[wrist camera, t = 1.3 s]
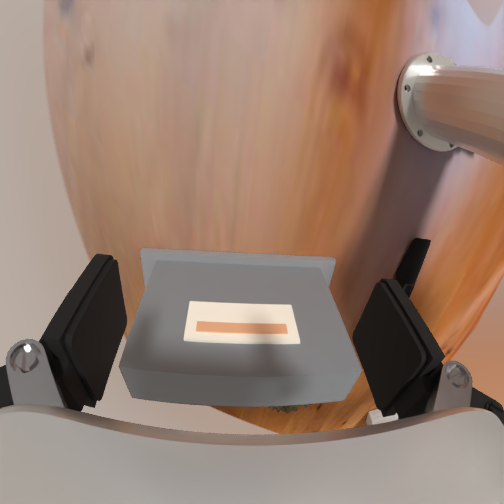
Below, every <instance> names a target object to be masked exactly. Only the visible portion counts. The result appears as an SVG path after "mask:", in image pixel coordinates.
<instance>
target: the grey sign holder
mask: <svg viewBox="0 0 504 504" xmlns="http://www.w3.org/2000/svg"><path fill="white" fill-rule="evenodd" d="M140 253H141V261H142V269H143V276H144V283H145V291H144V294H143V296H142V299H141V302H140V305H139V307H138V310H137V313H136V316H135V319H134V321H133V324H132V327H131V330H130V333H129V336H128V339H127V342H126V345H125V349H124V351H123V354H122V358H121V361H120V364H119V368H120V370H121V373H122V376H123V378H124V380H125V383H126V385H127V387H128V389H129V392H130V394H131V396H132V398H137V399H144V400H153V401H160V402H169V403H179V404H191V405H207V406H237V407H258V406H288V405H303V404H316V403H326V402H335V401H343V400H345V398H346V397H347V395H348V393H349V392H350V390H351V389H352V387H353V385H354V384H355V382H356V380H357V379H358V377H359V375H360V374H361V372H362V368H361V366H360V363H359V360H358V358H357V355H356V353H355V350H354V348H353V345H352V343H351V340H350V338H349V335H348V333H347V330H346V328H345V325H344V323H343V320H342V318H341V316H340V313H339V311H338V308H337V306H336V304H335V301H334V299H333V297H332V294H331V292H330V290H329V285H330V282H331V278H332V275H333V271H334V268H335V264H336V260H335V258H334V257H319V256H298V255H277V254H257V253H236V252H215V251H195V250H175V249H154V248H142V250H141V252H140Z"/></svg>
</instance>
